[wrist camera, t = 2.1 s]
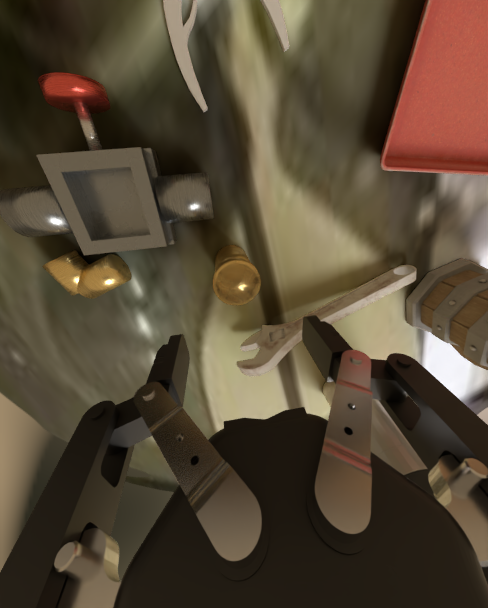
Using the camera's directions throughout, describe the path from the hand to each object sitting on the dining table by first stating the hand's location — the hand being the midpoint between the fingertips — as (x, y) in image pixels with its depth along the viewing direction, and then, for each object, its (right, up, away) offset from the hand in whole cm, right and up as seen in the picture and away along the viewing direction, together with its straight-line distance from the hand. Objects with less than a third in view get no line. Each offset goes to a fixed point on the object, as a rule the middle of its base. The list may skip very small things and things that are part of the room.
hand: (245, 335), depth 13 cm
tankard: (+36, +1, +24) cm, 43 cm away
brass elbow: (-17, +4, +12) cm, 21 cm away
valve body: (-13, +15, +8) cm, 22 cm away
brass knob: (-2, +8, +14) cm, 16 cm away
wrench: (+12, +2, +20) cm, 23 cm away
